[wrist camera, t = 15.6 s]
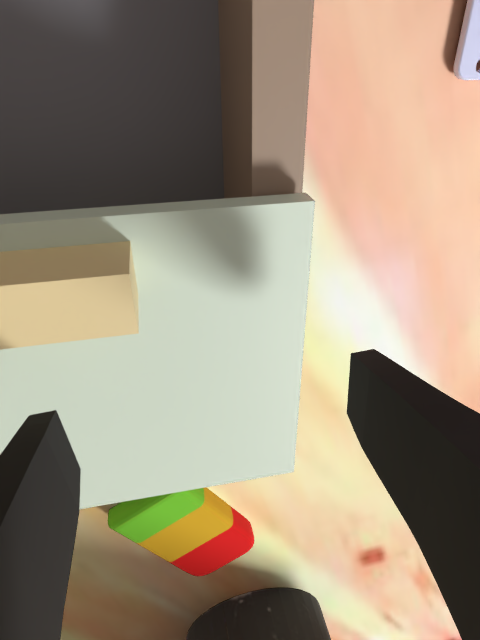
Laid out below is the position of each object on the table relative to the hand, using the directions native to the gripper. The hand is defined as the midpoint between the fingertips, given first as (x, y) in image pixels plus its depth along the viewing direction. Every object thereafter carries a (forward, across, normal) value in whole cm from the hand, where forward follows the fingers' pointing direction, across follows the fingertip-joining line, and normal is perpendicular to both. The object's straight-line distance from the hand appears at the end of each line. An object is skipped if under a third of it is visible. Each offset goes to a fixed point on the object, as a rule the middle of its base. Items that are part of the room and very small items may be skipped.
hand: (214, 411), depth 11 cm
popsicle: (+11, +4, +17) cm, 20 cm away
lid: (+4, +5, +1) cm, 6 cm away
